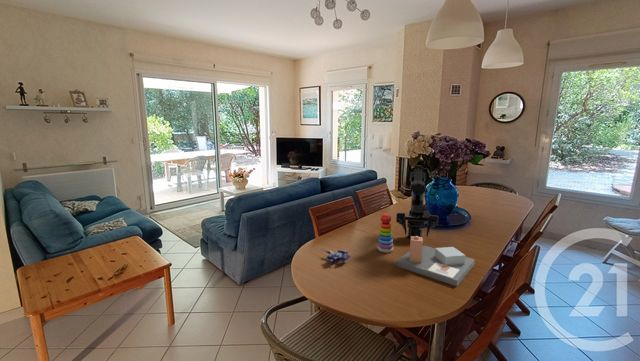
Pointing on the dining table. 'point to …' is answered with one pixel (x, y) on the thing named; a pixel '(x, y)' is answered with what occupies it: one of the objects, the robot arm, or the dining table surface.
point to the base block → (449, 256)
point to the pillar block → (416, 249)
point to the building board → (436, 267)
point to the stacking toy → (385, 235)
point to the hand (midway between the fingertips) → (416, 235)
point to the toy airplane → (337, 256)
